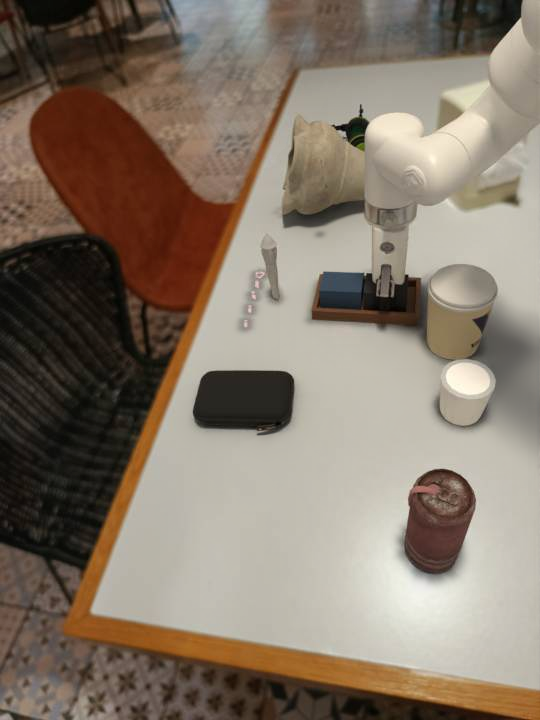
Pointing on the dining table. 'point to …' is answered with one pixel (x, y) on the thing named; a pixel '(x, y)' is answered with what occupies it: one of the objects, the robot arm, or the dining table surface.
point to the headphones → (355, 130)
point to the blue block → (341, 290)
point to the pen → (271, 263)
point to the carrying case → (244, 398)
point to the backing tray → (373, 316)
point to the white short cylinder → (465, 391)
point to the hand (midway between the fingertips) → (385, 298)
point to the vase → (321, 169)
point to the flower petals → (254, 293)
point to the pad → (398, 289)
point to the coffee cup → (458, 309)
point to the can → (438, 519)
